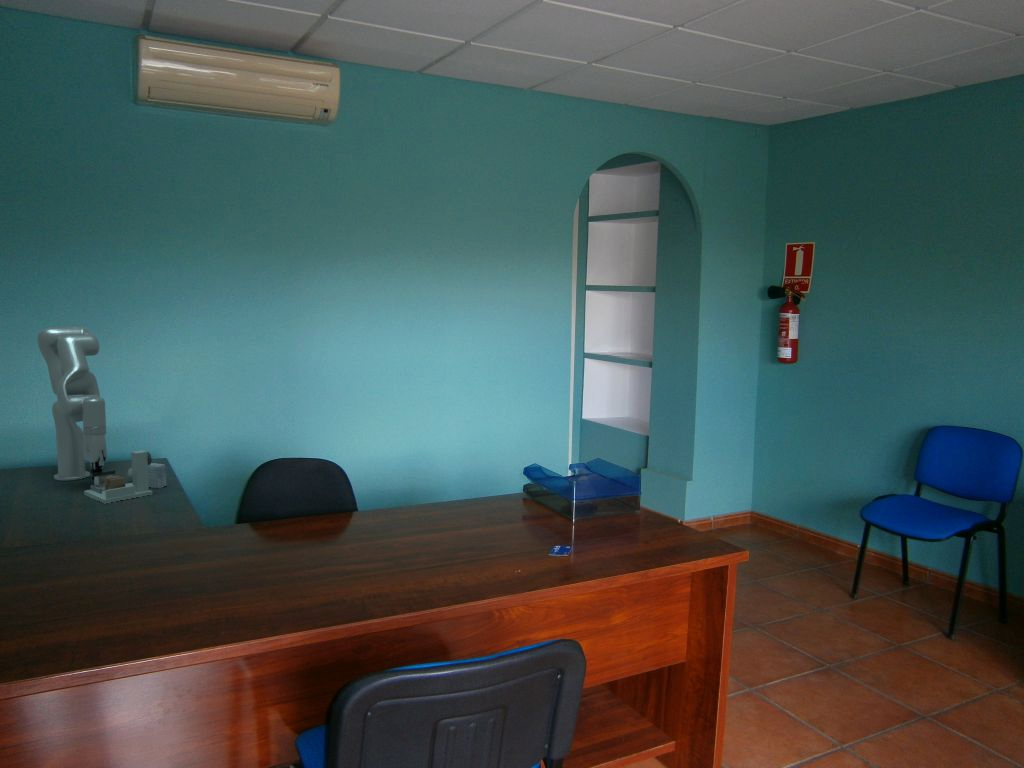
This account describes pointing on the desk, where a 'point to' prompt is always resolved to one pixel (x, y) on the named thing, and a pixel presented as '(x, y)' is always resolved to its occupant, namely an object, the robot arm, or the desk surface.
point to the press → (131, 489)
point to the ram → (101, 478)
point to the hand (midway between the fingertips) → (97, 479)
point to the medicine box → (156, 475)
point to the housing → (114, 482)
